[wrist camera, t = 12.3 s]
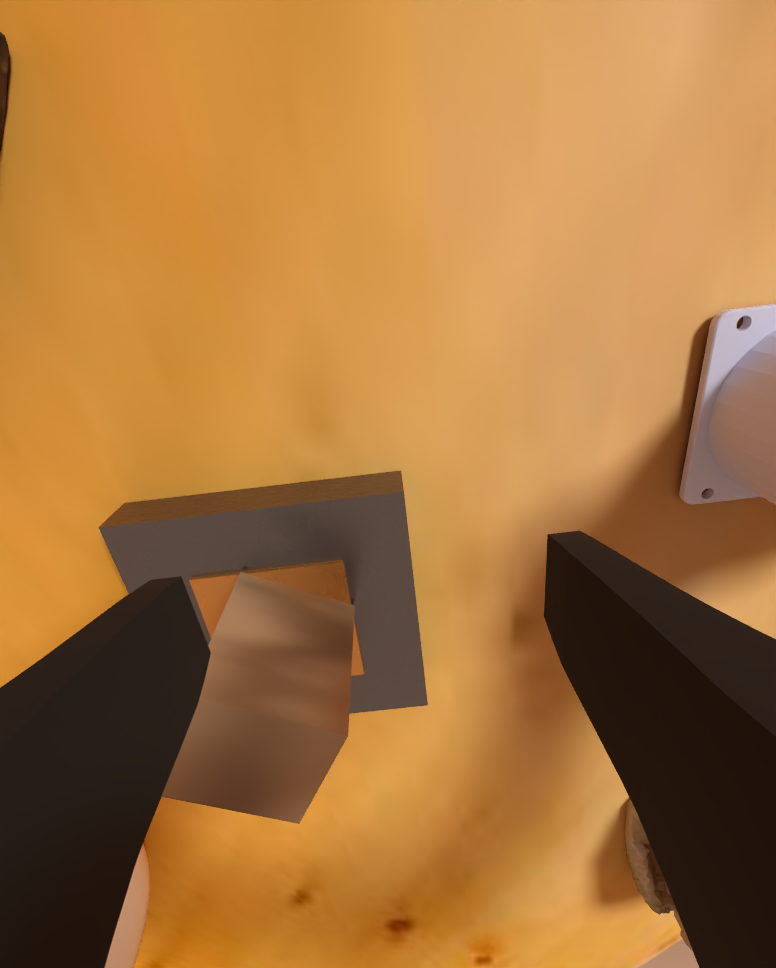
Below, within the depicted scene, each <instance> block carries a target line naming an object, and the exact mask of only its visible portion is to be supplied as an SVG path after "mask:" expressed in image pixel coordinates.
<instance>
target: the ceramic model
mask: <svg viewBox="0 0 776 968" xmlns="http://www.w3.org/2000/svg"><path fill="white" fill-rule="evenodd" d="M625 843H626V849H627V857H628V859H629V864H630V867H631V870H632V873H633V879H634V880H635V882H636V887H637V888H638V891H639V892H640V893H641V894H642V896H643V898H644V900H645V902H646V903H647V904H648V905H649V906H650V908H651V909H652V910H653V911H654V912H656V913H658V914H661V913H669V912H670V911H674V916H675V918H676V920H677V922H678V923H679V926H680V928H681V937H682V938H683V940H684V942H685V943H686V945H687V946H688V947H689V948H690V949H691V950H692V947H691V945H690V942H689V940H688V937H687V935H686V932H685V930H684V927H683V925H682V922H681V920H680V917H679V915H678V912H677V909H676V907H675V904H674V902H673V899H672V897H671V894H670V892H669V889H668V887H667V884H666V882H665V879H664V877H663V875H662V872H661V870H660V867H659V865H658V862H657V860H656V858H655V855H654V853H653V850H652V848H651V846H650V843H649V841H648V838H647V836H646V833H645V831H644V829H643V826H642V824H641V821H640V819H639V817H638V814H637V812H636V810H635V808H634V806H633V804H632V801H631V799H629V801H628V805H627V814H626V823H625ZM692 951H693V950H692Z"/></svg>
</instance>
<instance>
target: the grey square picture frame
mask: <svg viewBox="0 0 776 968" xmlns="http://www.w3.org/2000/svg"><path fill="white" fill-rule="evenodd" d="M99 529H100V531H101V534H102V536H103V538H104V540H105V542H106V545H107V547H108V549H109V551H110V553H111V555H112V558H113V560H114V562H115V564H116V566H117V569H118V571H119V573H120V575H121V577H122V580H123V582H124V584H125V586H126V588H127V591H128V593H129V594H130V593H131V592H133V591H134V590H136V589H137V588H139V587H140V586H142V585H143V584H145V583H147V582H148V581H150V580H153V579H162V578H170V577H179V576H181V577H182V579H183V582H184V584H185V587H186V590H187V592H188V595H189V597H190V600H191V603H192V605H193V608H194V610H195V613H196V616H197V618H198V621H199V623H200V626H201V629H202V631H203V634H204V636H205V639H206V641H207V644H208V645H209V643H210V640H211V638H212V636H213V634H214V631H215V629H216V627H217V624H218V622H219V620H220V617H221V615H222V613H223V611H224V608H225V606H226V604H227V601H228V599H229V597H230V594H231V592H232V590H233V588H234V585H235V583H236V581H237V578H238V576H239V574H240V572H243V573H247V574H250V575H253V576H257V577H260V578H263V579H267V580H270V581H273V582H277V583H280V584H283V585H287V586H290V587H293V588H297V589H300V590H303V591H307V592H310V593H313V594H317V595H320V596H324V597H327V598H330V599H334V600H337V601H340V602H344V603H347V604H350V605H354V606H355V613H354V632H353V651H352V670H351V689H350V708H349V713H359V712H368V711H377V710H387V709H396V708H406V707H415V706H424V705H428V703H427V695H426V686H425V677H424V668H423V659H422V650H421V641H420V632H419V623H418V614H417V606H416V597H415V588H414V579H413V570H412V561H411V552H410V543H409V534H408V525H407V517H406V508H405V499H404V490H403V483H402V476H401V471H394V472H386V473H378V474H369V475H361V476H352V477H344V478H335V479H327V480H318V481H310V482H301V483H293V484H284V485H276V486H267V487H259V488H250V489H242V490H233V491H225V492H217V493H208V494H200V495H191V496H183V497H174V498H166V499H157V500H149V501H140V502H132V503H124V504H123V505H122V506H121V507H120V508H119V509H118V510H117V511H115V512H114V513H113V514H112V515H111V516H110V517H109V518H108V519H107V520H106V521H105V522H104V523H103V524H102V525H101V526H100V527H99Z"/></svg>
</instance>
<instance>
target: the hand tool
mask: <svg viewBox="0 0 776 968" xmlns="http://www.w3.org/2000/svg"><path fill="white" fill-rule="evenodd" d="M8 63H9V50H8V44H7V41H6V38H5V36H4V35H3V34H2V33H1V32H0V149H1V142H2V136H3V129H4V119H5V107H6V99H7V74H8Z"/></svg>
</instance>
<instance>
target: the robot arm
mask: <svg viewBox="0 0 776 968" xmlns="http://www.w3.org/2000/svg"><path fill="white" fill-rule="evenodd" d="M741 317H743V323H742V325H741V326H740V327H739V328H738V329H737V322H738V320H739V319H740V318H741ZM705 489H707V491H706V492H705V493H704V494H702V492H703V491H704V490H705ZM701 494H702V495H701ZM679 497H680V498H681V500H683V501H684V502H685V503H687V504H690V505H695V504H703V503H712V502H721V501H729V500H738V499H747V498H756V497H763V498H764V499H766V500H768V501H769V502H771V503H773V504H774V505H776V304H767V305H759V306H751V307H743V308H735V309H727V310H723V311H721V312H719V313H718V314H716V315H715V317H714V318H713V319H712V321H711V324H710V327H709V333H708V338H707V344H706V349H705V355H704V360H703V366H702V371H701V377H700V382H699V388H698V393H697V399H696V404H695V409H694V415H693V420H692V426H691V431H690V437H689V442H688V448H687V453H686V459H685V464H684V470H683V475H682V481H681V486H680V492H679ZM544 617H545V620H546V623H547V626H548V629H549V632H550V634H551V637H552V640H553V643H554V645H555V648H556V651H557V653H558V656H559V658H560V661H561V664H562V666H563V668H564V670H565V672H566V674H567V676H568V678H569V680H570V682H571V684H572V686H573V688H574V690H575V692H576V694H577V695H578V697H579V699H580V701H581V703H582V705H583V707H584V709H585V711H586V713H587V715H588V717H589V719H590V721H591V723H592V725H593V726H594V728H595V730H596V732H597V734H598V736H599V738H600V740H601V742H602V744H603V746H604V748H605V750H606V752H607V754H608V755H609V757H610V759H611V761H612V763H613V765H614V767H615V769H616V771H617V773H618V775H619V777H620V779H621V781H622V782H623V785H624V787H625V789H626V791H627V793H628V795H629V797H630V799H631V801H632V804H633V806H634V808H635V810H636V812H637V814H638V817H639V819H640V821H641V824H642V826H643V829H644V831H645V833H646V836H647V838H648V841H649V843H650V846H651V848H652V850H653V853H654V855H655V858H656V860H657V862H658V865H659V867H660V870H661V872H662V875H663V877H664V879H665V882H666V884H667V887H668V889H669V892H670V894H671V897H672V899H673V902H674V904H675V907H676V909H677V912H678V915H679V917H680V920H681V922H682V925H683V927H684V930H685V932H686V935H687V937H688V940H689V942H690V945H691V947H692V950H693V952H694V955H695V958H696V960H697V962H698V965H699V968H776V639H774V638H772V637H770V636H768V635H766V634H764V633H762V632H760V631H758V630H755V629H754V628H752V627H750V626H748V625H746V624H744V623H742V622H740V621H738V620H736V619H734V618H732V617H730V616H728V615H727V614H725V613H723V612H721V611H719V610H717V609H715V608H713V607H711V606H709V605H707V604H706V603H704V602H702V601H700V600H698V599H697V598H695V597H693V596H691V595H689V594H687V593H686V592H684V591H682V590H680V589H679V588H677V587H675V586H673V585H672V584H670V583H668V582H666V581H665V580H663V579H661V578H659V577H658V576H656V575H654V574H653V573H651V572H649V571H648V570H646V569H644V568H642V567H641V566H639V565H637V564H636V563H634V562H632V561H631V560H629V559H627V558H626V557H624V556H622V555H621V554H619V553H617V552H616V551H614V550H612V549H611V548H609V547H607V546H606V545H604V544H602V543H601V542H599V541H597V540H595V539H594V538H592V537H590V536H588V535H586V534H585V533H583V532H581V531H574V532H565V533H556V534H548V539H547V562H546V585H545V608H544ZM210 655H211V652H210V649H209V647H208V644H207V641H206V639H205V636H204V634H203V631H202V629H201V626H200V623H199V621H198V618H197V616H196V613H195V610H194V608H193V605H192V603H191V600H190V597H189V595H188V592H187V590H186V587H185V584H184V582H183V579H182V577H181V576H179V577H170V578H162V579H153V580H150V581H148V582H147V583H145V584H143V585H142V586H140V587H139V588H137V589H136V590H134V591H133V592H131V593H130V594H129V595H127V596H126V597H124V598H123V599H122V600H120V601H119V602H117V603H116V604H115V605H113V606H112V607H111V608H109V609H108V610H107V611H105V612H104V613H102V614H101V615H100V616H98V617H97V618H96V619H94V620H93V621H92V622H90V623H89V624H88V625H86V626H85V627H84V628H82V629H81V630H80V631H78V632H77V633H76V634H74V635H73V636H72V637H70V638H69V639H68V640H66V641H65V642H64V643H62V644H61V645H60V646H58V647H57V648H55V649H54V650H53V651H51V652H50V653H49V654H47V655H46V656H45V657H43V658H42V659H41V660H39V661H38V662H36V663H35V664H34V665H32V666H31V667H29V668H28V669H26V670H25V671H24V672H22V673H21V674H19V675H18V676H17V677H15V678H14V679H12V680H11V681H9V682H8V683H7V684H5V685H4V686H2V687H1V688H0V968H105V965H106V961H107V957H108V954H109V950H110V947H111V943H112V940H113V936H114V933H115V930H116V926H117V923H118V920H119V917H120V913H121V910H122V907H123V903H124V900H125V897H126V894H127V890H128V887H129V884H130V881H131V877H132V874H133V871H134V867H135V864H136V861H137V859H138V856H139V853H140V850H141V848H142V845H143V842H144V839H145V837H146V834H147V831H148V829H149V826H150V824H151V821H152V819H153V816H154V814H155V811H156V809H157V806H158V804H159V801H160V799H161V796H162V794H163V791H164V789H165V786H166V784H167V781H168V779H169V776H170V774H171V771H172V769H173V766H174V764H175V761H176V759H177V756H178V754H179V751H180V749H181V746H182V744H183V741H184V739H185V736H186V734H187V731H188V729H189V726H190V723H191V721H192V718H193V716H194V713H195V710H196V708H197V705H198V702H199V699H200V695H201V691H202V688H203V684H204V680H205V676H206V672H207V668H208V663H209V659H210Z"/></svg>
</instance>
